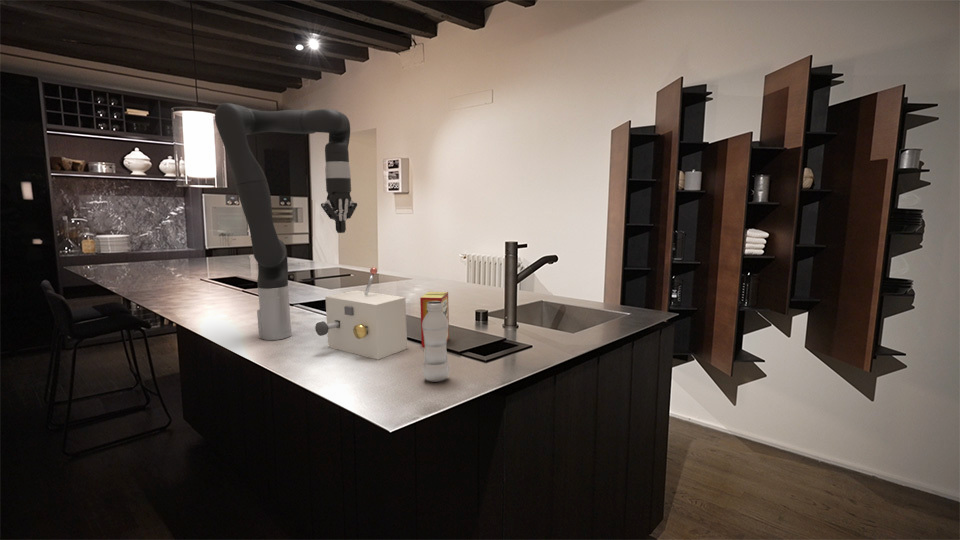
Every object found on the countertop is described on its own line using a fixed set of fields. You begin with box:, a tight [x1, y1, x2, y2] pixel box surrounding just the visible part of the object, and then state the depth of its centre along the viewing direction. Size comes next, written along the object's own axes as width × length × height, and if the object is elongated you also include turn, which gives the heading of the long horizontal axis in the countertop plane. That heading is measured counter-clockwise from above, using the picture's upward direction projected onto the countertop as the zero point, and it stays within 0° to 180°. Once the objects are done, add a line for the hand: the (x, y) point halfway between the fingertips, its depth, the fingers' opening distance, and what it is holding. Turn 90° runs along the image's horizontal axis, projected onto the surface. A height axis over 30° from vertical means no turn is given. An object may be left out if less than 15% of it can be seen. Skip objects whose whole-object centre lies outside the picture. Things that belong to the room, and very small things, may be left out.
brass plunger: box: [353, 324, 368, 339], centre depth 140 cm, size 4×7×4 cm, turn 146°
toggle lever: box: [364, 267, 378, 296], centre depth 148 cm, size 2×2×9 cm
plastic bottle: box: [422, 301, 450, 383], centre depth 120 cm, size 6×7×20 cm
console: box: [324, 289, 408, 361], centre depth 147 cm, size 22×13×16 cm, turn 56°
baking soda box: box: [419, 291, 450, 348], centre depth 152 cm, size 10×6×16 cm
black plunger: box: [314, 320, 340, 337], centre depth 144 cm, size 4×7×4 cm, turn 146°
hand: (341, 232), depth 153 cm, fingers closed
